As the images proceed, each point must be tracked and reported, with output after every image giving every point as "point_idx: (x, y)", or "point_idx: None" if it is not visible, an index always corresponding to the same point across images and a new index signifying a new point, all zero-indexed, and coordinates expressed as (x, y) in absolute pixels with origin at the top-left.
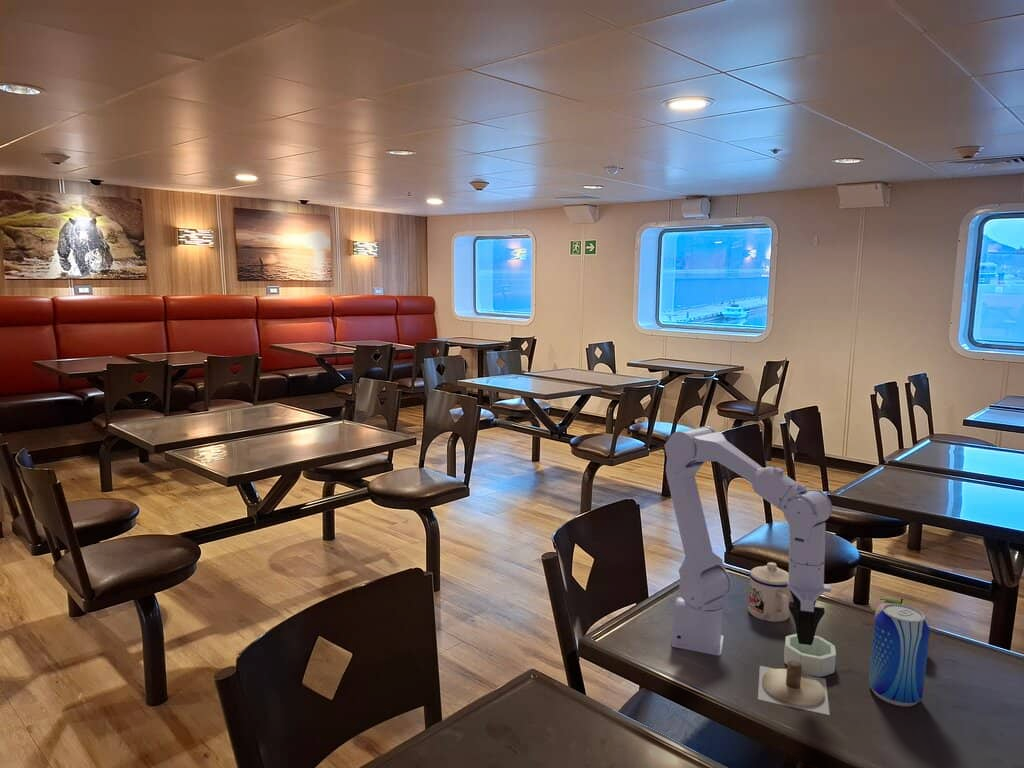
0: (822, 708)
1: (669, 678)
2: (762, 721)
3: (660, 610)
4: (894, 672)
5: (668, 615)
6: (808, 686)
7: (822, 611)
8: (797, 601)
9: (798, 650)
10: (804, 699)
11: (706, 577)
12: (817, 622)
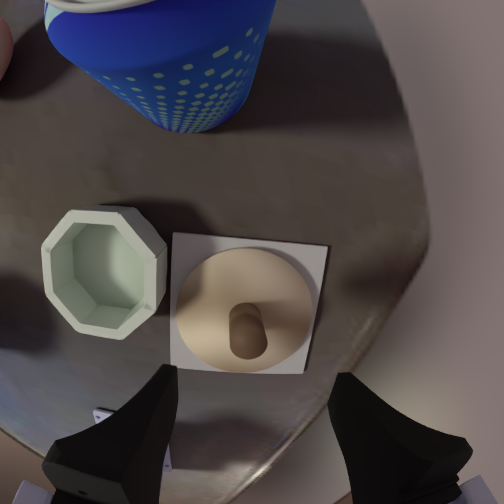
0: (306, 258)
1: (265, 468)
2: (359, 360)
3: None
4: (255, 68)
5: None
6: (241, 284)
7: (464, 455)
8: (158, 472)
9: (75, 282)
10: (300, 298)
11: None
12: (423, 428)
